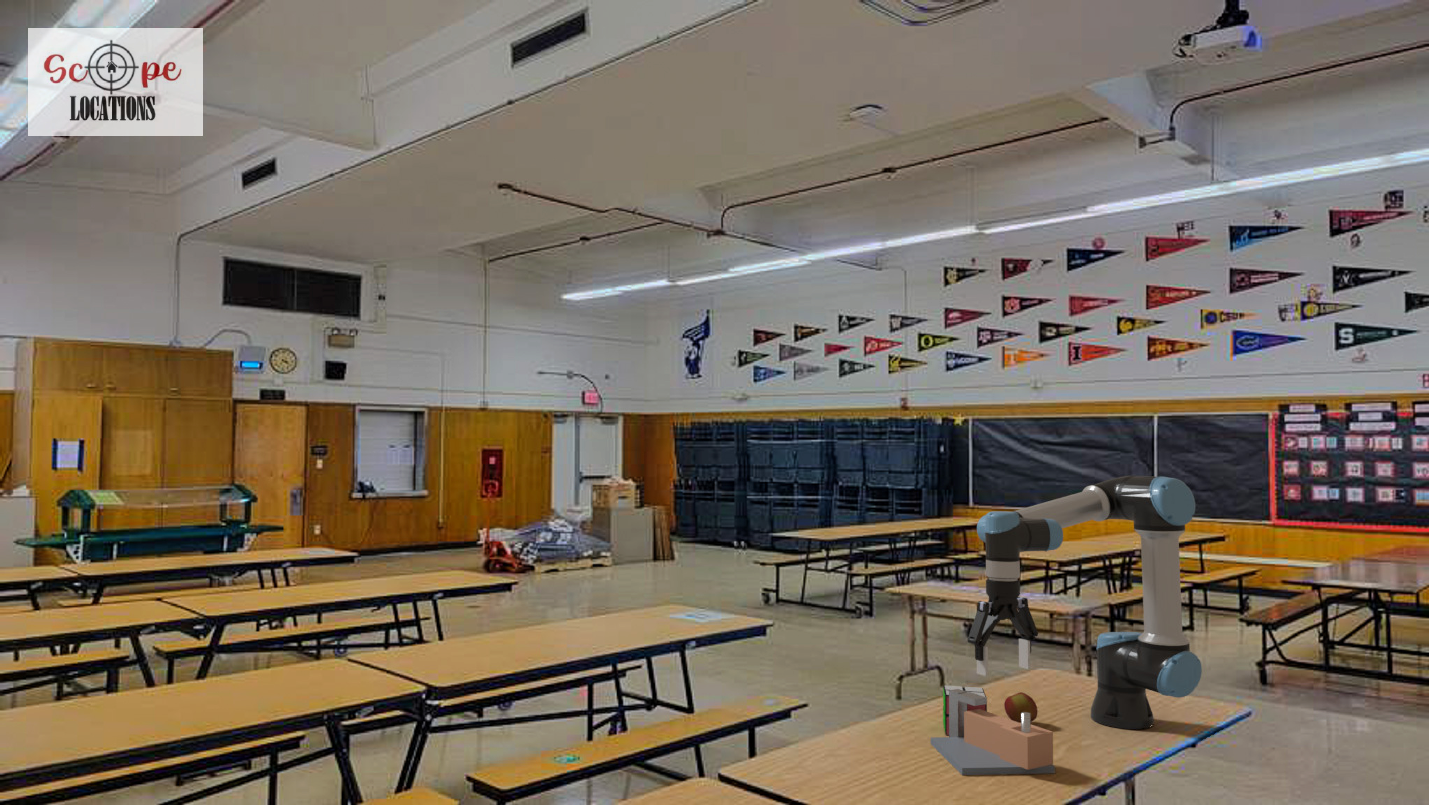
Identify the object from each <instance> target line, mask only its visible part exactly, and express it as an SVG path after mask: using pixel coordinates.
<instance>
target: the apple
mask: <svg viewBox="0 0 1429 805" xmlns="http://www.w3.org/2000/svg"><path fill="white" fill-rule="evenodd" d="M1003 707H1004V710H1005V714H1006V715H1007V717H1008V719H1010V720H1013V721H1016V722H1018V723H1021V712H1028V713H1030V718H1031V722H1033V721H1035V720H1036V719H1037V716H1038V706H1037V704H1036V702H1035V700H1034V699H1033V698H1032V697H1031V696H1030V695H1028V694H1027V693H1025V692H1018V693H1015V694H1013V695H1010V696H1007V697H1006V698H1005V700H1004V704H1003Z"/></svg>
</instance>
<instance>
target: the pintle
mask: <svg viewBox="0 0 1429 805" xmlns="http://www.w3.org/2000/svg"><path fill="white" fill-rule="evenodd" d="M1031 723H1032V721H1031V718H1030V713H1028V712H1021V732H1023V733H1026V734H1028V733H1031V725H1032V724H1031Z"/></svg>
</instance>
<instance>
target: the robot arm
mask: <svg viewBox="0 0 1429 805" xmlns="http://www.w3.org/2000/svg"><path fill="white" fill-rule="evenodd" d="M1195 512H1196V500H1195V497H1194V494H1193V492H1192V490H1191V488H1190V487H1189V486H1187V484H1186V483H1185V482H1184V481H1183V480H1180V479H1178V478H1175V477H1167V476H1149V475H1148V476H1143V475H1141V476H1140V475H1123V476H1119V477H1115V478H1112V479H1108V480H1105V481H1100V482H1098V483H1095V484H1091V485H1087V486H1086V487H1084V488H1083V490H1082V491H1081V492H1077V493H1074V494H1070V495H1066V496H1062V497H1059V498H1055V499H1052V500H1049V501H1045V502H1041V503H1038V504H1035V505H1031V506H1028V507H1024V508H1021V509H1017V510H1013V511H1004V510H1002V511H1001V510H999V511H998V510H997V511H996V510H995V511H994V510H993V511H990V512H989V511H988V512H987V513H986V514H985V515H983V516H981V517H980V518H979V520H978V522H977V525H976V534H977V536H978V538H979V539H980V541H982V542H984V543H985V545H984V546H985V576H986V577H987V578H986V580H985V593H986V595H987V596H988V600H987V601H983V600H978V602H977V608H976V613H975V616H974V619H973V623H972V626H971V628H970V631H969V634H968V637H967V642H968V643H969V644H972V645H974V657H975V660H976V675H980V676H983V677H988V676H989V653H988V652H989V647H988V646H986V644H987V642H988V640H989V639H990V636H991V635H992V633H993V631H994V630H995V627H996V625H997V624H999V623H1000V622H1001V621H1005V620H1010V622H1011V624H1012V625H1013V627H1014V628H1015V629H1016V631H1017V632H1018V634H1019V636H1020V637H1021V638H1018V667H1019V668H1022V669H1026V670H1031V653H1032V642H1033V641H1035V640H1036V637H1038V636H1039V632H1038V630H1037V627H1036V624H1035V621H1034V619H1033V616H1032V612H1031V610H1030V608H1029V600H1028V598H1027V597H1021V582H1020V580H1019V579H1020V577H1021V568H1020V567H1021V565H1020V559H1021V558H1020V556H1021V555H1020V553H1023V552H1049V551H1055V550H1057V549H1059V548H1060V547H1061V545H1062V544H1063V541H1064V531H1063V530H1064V529H1065V528H1069V527H1072V526H1075V525H1078V524H1082V523H1085V522H1088V521H1092V520H1093V521H1095V522H1102V521H1107V520H1126V521H1133V530H1134V531H1135V532H1136V534H1138V535H1139V536H1140V546H1141V547H1140V549H1141V550H1140V551H1141V553H1140V554H1141V573H1142V574H1141V577H1142V602H1143V603H1142V604H1143V629H1144V630H1143V632H1136V631H1135V632H1134V631H1111V632H1110V631H1109V632H1102V633H1100V634H1098V637H1097V642H1096V643H1097V644H1096V669H1097V671H1096V672H1097V673H1096V675H1097V677H1096V678H1097V688H1096V693H1095V695H1094V697H1093V702H1092V704H1091V707H1090V718H1091V720H1093V721H1094V722H1096V723H1098V724H1100V725H1104V726H1108V727H1113V728H1116V729H1117V728H1118V729H1124V730H1125V729H1126V730H1143V729H1142V728H1146V729H1149V728H1148V727H1150V726H1151V725H1153V723H1154V724H1155V722H1154V720H1155V719H1154V713H1153V711H1152V708H1151V705H1150V703H1149V699H1148V697H1147V690H1148V691H1151V692H1154V693H1155V692H1156V693H1157V694H1161V695H1162V696H1166V697H1173V698H1177V699H1179V698H1180V699H1181V698H1185V697H1187V696H1189V695H1190V694H1192V693H1193V692H1194V690H1195V689H1196V688H1197V687H1198V685H1199V683H1200V681H1201V678H1202V672H1203V667H1202V662H1201V660H1200V659H1199V657H1198V655H1196V654H1195V653H1194V652H1193V651H1191V646H1190V640H1189V639H1188V638H1187V637H1186V636H1185V635H1184V634H1183V618H1182V614H1183V613H1182V593H1181V590H1182V589H1181V569H1180V568H1181V566H1180V564H1181V563H1180V546H1179V545H1180V541H1179V539H1180V537H1181V536H1182V535H1183V534H1184V533H1185V532H1186V525H1187V524H1189V523H1190V522H1191V521H1192V519H1193V516H1194V515H1195ZM1153 726H1154V725H1153ZM1150 728H1151V727H1150Z"/></svg>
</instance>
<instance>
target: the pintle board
mask: <svg viewBox="0 0 1429 805" xmlns="http://www.w3.org/2000/svg"><path fill="white" fill-rule="evenodd" d="M930 745H931V746H932V747H933V748H934V749H935V750H936V751H937V752H938V753H939V754H940V755H941V756H942V757H943V758H944V759H945V760H946V761H947V762H948V763H950V764H951V765H952V766H953V768H955V769H956V771H957V772H959V773H960V775H961V776H978V775H979V776H981V775H983V776H984V775H986V776H987V775H989V776H990V775H1032V774H1033V775H1034V774H1035V775H1037V774H1038V775H1039V774H1055V773H1056V766H1055V765H1054V763H1053V764H1051V765H1047V766H1042V767H1038V768H1033V769H1029V770H1027V769H1024V768H1022V767H1019V766H1017V765H1014V764H1012V763H1009V762H1007V761H1004V760H1002V759H1000V756H999V755H997V754H994V753H992V752H989V751H987V750H984V749H982V748H979V747H977V746H974V745H971V744H969V743H966V742H964V737H949V736H947V737H946V736H943V737H941V736H940V737H939V736H937V737H933V736H932V737H930Z"/></svg>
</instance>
